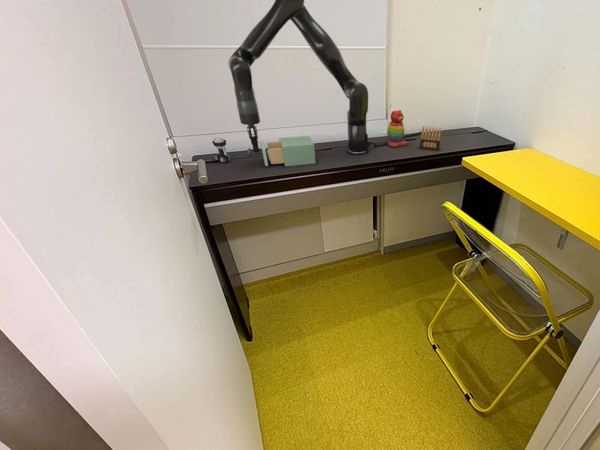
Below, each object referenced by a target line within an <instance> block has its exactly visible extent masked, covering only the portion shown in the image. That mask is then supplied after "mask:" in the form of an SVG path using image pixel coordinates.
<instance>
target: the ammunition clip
mask: <svg viewBox="0 0 600 450" xmlns="http://www.w3.org/2000/svg"><path fill="white" fill-rule="evenodd" d="M421 132H422V133H420V141H419V142H420V143H419V149H422V150H423V149H424V150H431V151H440V144H441V137H442V136H441V135H442V128H441V127H439V129H438V127H436V128H435V127H434V126H433V127H431V126H429V127H428V126H426V127H425V126H424V125H423V126H422V128H421Z"/></svg>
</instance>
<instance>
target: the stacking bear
mask: <svg viewBox="0 0 600 450" xmlns="http://www.w3.org/2000/svg"><path fill="white" fill-rule="evenodd" d="M404 118H405V115H404V114H403V112H402V110H401V109H399V110H393V111H391V113H390V122H389V124H388V125H387V130H386V131H387V132H386V134H387V140H386V141H387V142H388V144H387V146H389V147H391V148H398V147H402V146H403V147H405V146H407V145H408V142H407V141H406V139H405V140H404V138H403V137H404V136H405V125H404V123H403V121H404ZM387 142H386V143H387Z"/></svg>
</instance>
